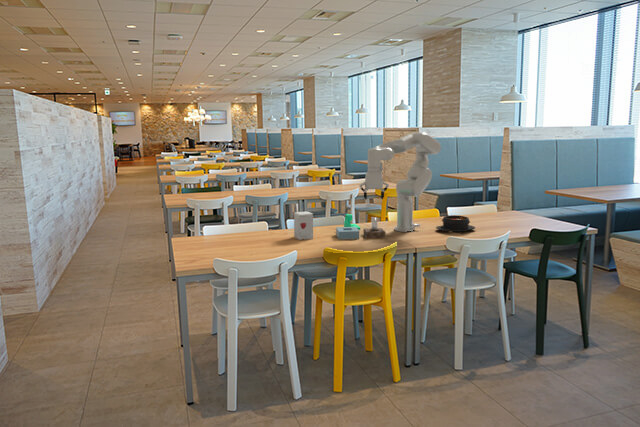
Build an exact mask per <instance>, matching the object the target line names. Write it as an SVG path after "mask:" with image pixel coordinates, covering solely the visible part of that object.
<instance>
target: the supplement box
mask: <svg viewBox="0 0 640 427" xmlns="http://www.w3.org/2000/svg"><path fill="white" fill-rule="evenodd" d="M293 218H294V219H293V221H294V222H293V227H294V228H293V237H294V238H295V239H297V240H299V241H300V240H301V241H303V240H302V239H304V240H311V239H314V213H312V212H311V211H295V212H293Z"/></svg>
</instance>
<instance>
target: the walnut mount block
mask: <svg viewBox="0 0 640 427" xmlns="http://www.w3.org/2000/svg"><path fill="white" fill-rule="evenodd" d="M363 235H364V236H365V238H366V239H386V231H385V229H383V228H381V227H377V231H372V227H370V228H367V227H366V228H363Z"/></svg>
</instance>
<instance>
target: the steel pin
mask: <svg viewBox="0 0 640 427" xmlns="http://www.w3.org/2000/svg"><path fill="white" fill-rule="evenodd" d="M371 228H372V231H377V228H378V217H373V216H372V217H371Z"/></svg>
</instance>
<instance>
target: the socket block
mask: <svg viewBox="0 0 640 427" xmlns="http://www.w3.org/2000/svg"><path fill="white" fill-rule="evenodd" d="M335 230H336V232H335V233H336V237H337V238H338V240H360V230H358V229H357V227H344V226H339V227H338V226H336V228H335Z"/></svg>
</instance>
